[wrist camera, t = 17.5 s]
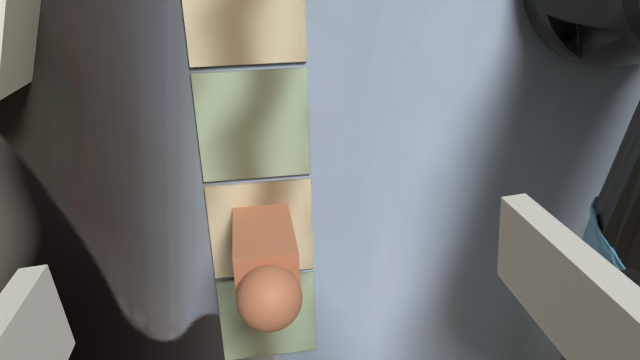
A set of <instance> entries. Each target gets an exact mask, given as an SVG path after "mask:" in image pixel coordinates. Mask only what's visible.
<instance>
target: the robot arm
mask: <svg viewBox="0 0 640 360" xmlns="http://www.w3.org/2000/svg"><path fill="white" fill-rule="evenodd" d="M524 5H525V9H526V12H527V15H528V18H529V20H530V22H531V24H532V26H533V28H534V30H535V31H536V33H537V34H538V36H539V37H540V38H541V39H542V41H543V42H544V43H545V44H546V45H547V46H548V47H550V48H551V49H552V50H553V51H555V52H556V53H558V54H560V55H561V56H564V57H566V58H568V59H571V60H574V61H578V62H581V63H585V64H588V65H592V66H598V67H623V66H628V65H634V64H640V0H524ZM497 275H498V276H499V277H500V279H501V280H502V281H503V282H504V284H505V285H506V286H507V287H508V289H509V290H510V291H511V292H512V293H513V295H514V296H515V297H516V298H517V300H518V301H519V302H520V303H521V305H522V306H523V307H524V308H525V309H526V311H527V312H528V313H529V314H530V316H531V317H532V318H533V319H534V321H535V322H536V323H537V324H538V325H539V327H540V328H541V329H542V330H543V332H544V333H545V334H546V335H547V337H548V338H549V339H550V340H551V342H552V343H553V344H554V345H555V346H556V348H557V349H558V350H559V351H560V353H561V354H562V355H563V356H564V358H565V359H566V360H640V100H639V103H638V105H637V107H636V110H635V112H634V114H633V117H632V119H631V121H630V124H629V126H628V128H627V131H626V133H625V135H624V138H623V140H622V143H621V145H620V147H619V150H618V152H617V154H616V157H615V159H614V161H613V164H612V166H611V168H610V171H609V173H608V175H607V178H606V180H605V182H604V185H603V187H602V189H601V192H600V194H599V196H597V197H595V198H594V200H593V202H592V203H591V207H590V219H589V222H588V225H587V227H586V230H585V233H584V236H583V239H580V238H579V237H578V236H577V235H576V234H574V233H573V232H572V231H571V230H569V229H568V228H567V227H566V226H565V225H563V224H562V223H561V222H560V221H559V220H557V219H556V218H555V217H554V216H552V215H551V214H550V213H549V212H548V211H546V210H545V209H544V208H543V207H541V206H540V205H539V204H538V203H537V202H535V201H534V200H533V199H532V198H530V197H529V196H528V195H527V194H526V193H524V194H517V195H511V196H504V197H501V206H500V226H499V246H498V266H497ZM74 345H75V341H74V338H73V335H72V332H71V329H70V327H69V324H68V321H67V318H66V315H65V313H64V310H63V307H62V304H61V301H60V299H59V296H58V293H57V290H56V287H55V285H54V282H53V279H52V276H51V273H50V271H49V268H48V265H41V266H34V267H27V268H21V269H18V270H17V272H16V273H15V274H14V276H13V277H12V278H11V280H10V281H9V283H8V284H7V285H6V287H5V288H4V290H3V291H2V292H1V294H0V360H68V358H69V356H70V354H71V352H72V350H73V347H74Z"/></svg>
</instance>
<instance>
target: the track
mask: <svg viewBox="0 0 640 360" xmlns="http://www.w3.org/2000/svg"><path fill="white" fill-rule="evenodd" d="M182 6H183V14H184V23H185V31H186V39H187V48H188V56H189V64H190V67H206V66H226V65H246V64H266V63H286V62H306V61H307V44H306V13H305V0H182ZM191 81H192V89H193V98H194V106H195V114H196V123H197V131H198V139H199V148H200V156H201V164H202V173H203V181H204V182H211V181H224V180H237V179H250V178H262V177H275V176H288V175H301V174H311V172H310V140H309V108H308V76H307V67H306V68H287V69H267V70H248V71H228V72H209V73H191ZM204 189H205V198H206V206H207V214H208V223H209V231H210V239H211V247H212V256H213V264H214V272H215V279H216V278H226V277H234V271H233V261H232V240H233V208H237V207H249V206H260V205H272V204H284V203H288V206H289V210H290V215H291V219H292V224H293V228H294V233H295V237H296V242H297V246H298V251H299V264H300V270H304V269H313V268H314V267H313V235H312V204H311V179H310V178H304V179H291V180H279V181H266V182H253V183H241V184H228V185H216V186H205V187H204ZM300 286H301V290H302V306H301V309H300V312H299V314H298V316H297V317H296V319H295V320H294V321H293V322H292V323H291V324H290V325H289V326H287V327H286V328H284V329H282V330H280V331H276V332H261V331H258V330H255V329H253V328H251V327H250V326H249V325H247V324H246V323H245V322H244V321H243V319H242V318H241V316H240V314H238V309H237V305H236V290H235V280H226V281H216V289H217V297H218V306H219V314H220V322H221V331H222V339H223V347H224V355H225V360H235V359H243V358H251V357H260V356H268V355H276V354H284V353H292V352H300V351H308V350H316V331H315V299H314V273H313V272H303V273H300Z"/></svg>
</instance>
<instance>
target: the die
mask: <svg viewBox="0 0 640 360" xmlns="http://www.w3.org/2000/svg"><path fill="white" fill-rule="evenodd" d="M40 4H41V0H0V100H1V99H3V98H5V97H6V96H8V95H10V94H11V93H13V92H15V91H16V90H18V89H20V88H21V87H23V86H25V85H27V84H28V83H30V82H32V77H33V68H34V59H35V50H36V41H37V32H38V23H39V13H40Z"/></svg>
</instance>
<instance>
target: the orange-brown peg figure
mask: <svg viewBox="0 0 640 360" xmlns="http://www.w3.org/2000/svg"><path fill="white" fill-rule="evenodd" d="M232 261H233V271H234V280H235V290H236V305H237V309H238V314H240V316H241V318H242V319H243V321H244V322H245V323H246V324H247V325H249V326H250V327H251V328H253V329H255V330H258V331H261V332H276V331H280V330H282V329H284V328H286V327H287V326H289V325H290V324H291V323H292V322H293V321H294V320H295V319H296V317H297V316H298V314H299V312H300V309H301V306H302V290H301V286H300V264H299V251H298V246H297V242H296V237H295V233H294V228H293V224H292V219H291V215H290V210H289V206H288V203H284V204H272V205H260V206H249V207H237V208H233V240H232Z"/></svg>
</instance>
